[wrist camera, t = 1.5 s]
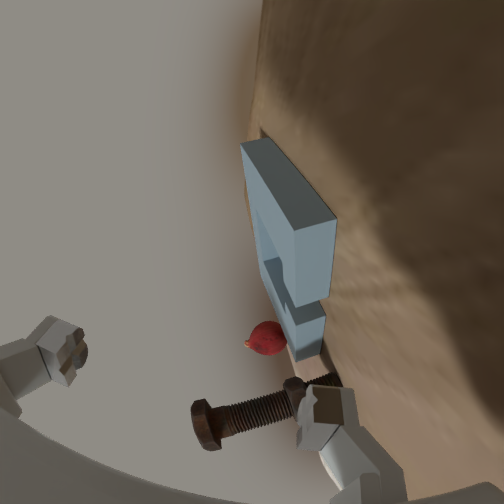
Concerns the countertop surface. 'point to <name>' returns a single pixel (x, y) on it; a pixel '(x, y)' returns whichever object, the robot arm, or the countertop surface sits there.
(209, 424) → the bolt
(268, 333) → the onion
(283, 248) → the pocket frame
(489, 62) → the countertop surface
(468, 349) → the countertop surface
